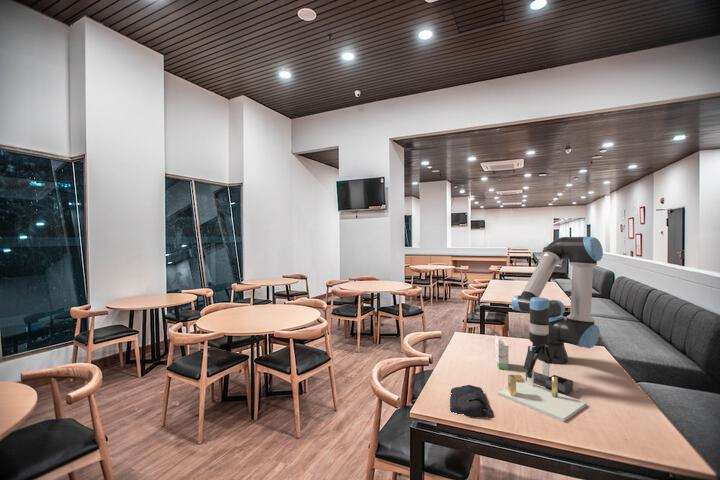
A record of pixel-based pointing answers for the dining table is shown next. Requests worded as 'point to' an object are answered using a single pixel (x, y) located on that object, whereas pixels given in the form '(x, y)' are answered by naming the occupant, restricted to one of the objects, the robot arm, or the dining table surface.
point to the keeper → (514, 383)
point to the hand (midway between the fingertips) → (538, 381)
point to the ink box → (501, 354)
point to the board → (544, 401)
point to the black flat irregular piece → (469, 401)
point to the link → (563, 384)
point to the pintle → (554, 386)
